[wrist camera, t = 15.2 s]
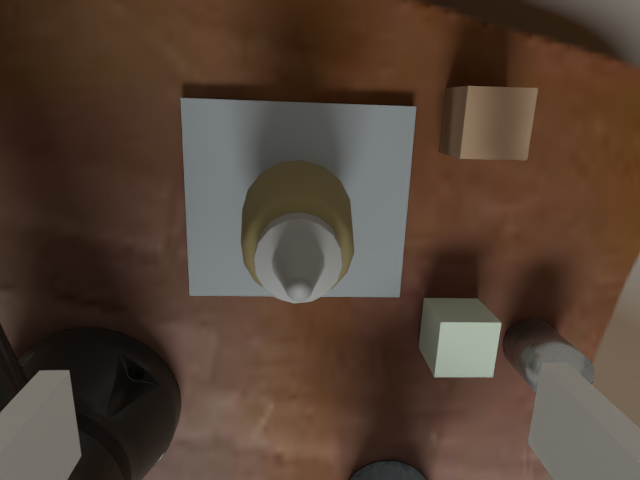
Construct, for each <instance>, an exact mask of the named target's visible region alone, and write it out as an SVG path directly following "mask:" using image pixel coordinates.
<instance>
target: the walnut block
mask: <svg viewBox="0 0 640 480" xmlns="http://www.w3.org/2000/svg"><path fill="white" fill-rule="evenodd" d="M537 92H538V88H518V87H489V86H461V87H452V88H445V98H444V108H443V118H442V128H441V138H440V148H439V152H441V153H444V154H447V155H450V156H453V157H456V158H460V159H496V160H527V157H528V151H529V144H530V138H531V131H532V124H533V118H534V111H535V105H536V98H537Z"/></svg>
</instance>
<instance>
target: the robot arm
mask: <svg viewBox="0 0 640 480" xmlns="http://www.w3.org/2000/svg"><path fill="white" fill-rule="evenodd" d="M180 410H181V401H180V394H179V390H178V386H177V383H176V381H175V379H174V377H173V375H172V373H171V371H170V370H169V368H168V367H167V365H166V364H165V363H164V362H163V360H162V359H161V358H160V357H159V356H158V355H157V354H156V353H155V352H153V351H152V350H151V349H150V348H148V347H147V346H145V345H144V344H142V343H141V342H139V341H137V340H135V339H133V338H131V337H129V336H126V335H124V334H121V333H118V332H114V331H110V330H105V329H98V328H78V329H71V330H66V331H62V332H58V333H55V334H53V335H50V336H48V337H46V338H44V339H42V340H41V341H39V342H38V343H36V344H35V345H34V346H32V347H31V348H30V349H29V350H28V351H27V352H26V353H25V354H24V355H23V356H21V357H20V358H19V359H17V357H16V355H15V353H14V351H13V349H12V347H11V345H10V343H9V340H8V338H7V336H6V334H5V332H4V330H3V328H2V326H1V324H0V480H142V479H143V478H144V476H145V475H146V474H147V473H148V472H149V471H150V470H151V468H152V467H154V466H155V465H156V464H157V463H158V462H159V461H160V459H161V458H162V457H163V455H164V454H165V452H166V451H167V449H168V447H169V446H170V443H171V441H172V439H173V436H174V433H175V430H176V427H177V424H178V421H179V417H180ZM528 444H529V446H530V447H531V449H532V450H533V451H534V453H535V454H536V456H537V457H538V458H539V460H540V461H541V463H542V464H543V466H544V467H545V468H546V470H547V471H548V473H549V474H550V475H551V477H552V478H553V479H554V480H640V429H639V428H638V427H637V426H636V425H635V424H634V423H633V422H632V421H630V420H629V419H628V418H627V417H626V416H625V415H624V414H623V413H622V412H621V411H620V410H618V409H617V408H616V407H615V406H614V405H613V404H612V403H611V402H610V401H609V400H608V399H607V398H605V397H604V396H603V395H602V394H601V393H600V392H599V391H598V390H597V389H596V388H595V387H593V386H592V385H591V384H590V383H589V382H588V381H587V380H586V379H585V378H584V377H583V376H582V375H581V374H579V373H578V372H577V371H576V370H575V369H574V368H573V367H572V366H571V365H570V364H569V363H567V362H559V363H542V364H541V370H540V376H539V381H538V387H537V393H536V399H535V404H534V410H533V416H532V422H531V427H530V433H529V439H528Z"/></svg>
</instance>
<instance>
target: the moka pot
mask: <svg viewBox="0 0 640 480" xmlns="http://www.w3.org/2000/svg"><path fill="white" fill-rule="evenodd" d="M350 480H426V479H425V478H424V476H423V475H422V474H421V473H420V472H419V471H418V470H416V469H414V468H413V467H411V466H409V465H407V464H404V463H402V462H397V461H383V462H376V463H372V464H370V465H367V466H365V467H364V468H362V469H361V470H359V471H358V472H356V473H355V474H354V475H353V476H352V477H351V478H350Z"/></svg>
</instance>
